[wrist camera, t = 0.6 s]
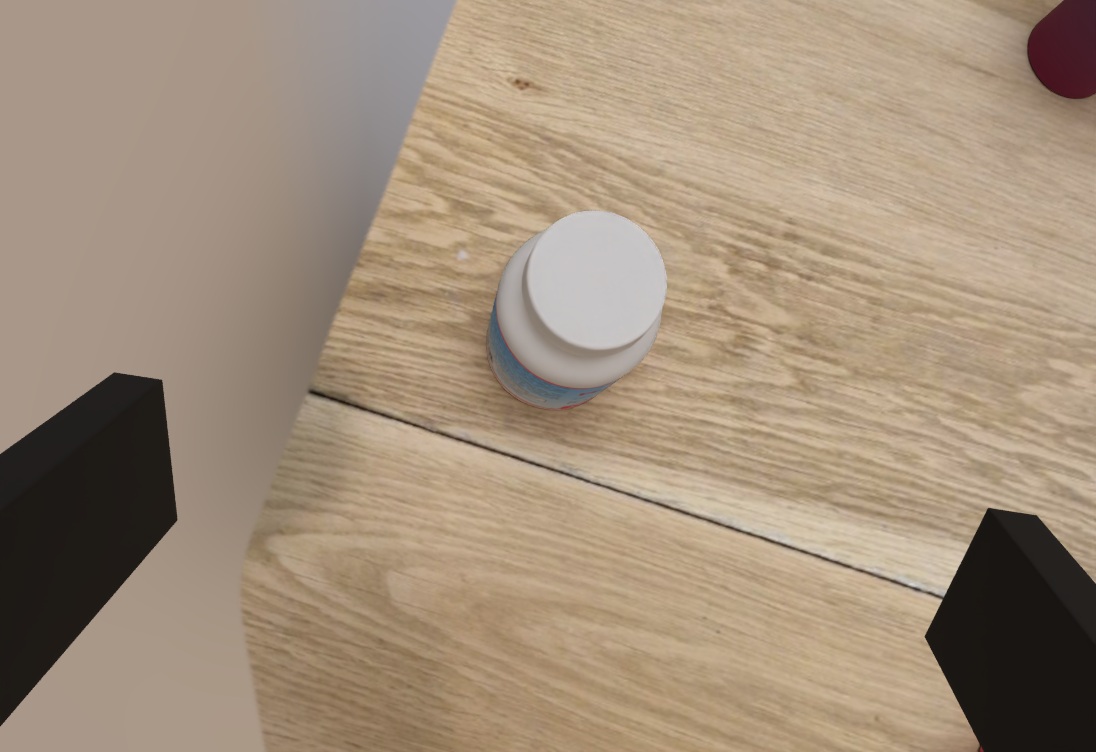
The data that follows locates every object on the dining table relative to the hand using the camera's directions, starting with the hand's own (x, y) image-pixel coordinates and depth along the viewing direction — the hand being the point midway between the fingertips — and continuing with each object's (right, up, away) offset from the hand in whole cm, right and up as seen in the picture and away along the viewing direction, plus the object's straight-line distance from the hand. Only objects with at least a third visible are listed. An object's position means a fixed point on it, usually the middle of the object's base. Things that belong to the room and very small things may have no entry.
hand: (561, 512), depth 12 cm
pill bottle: (0, +4, +23) cm, 23 cm away
